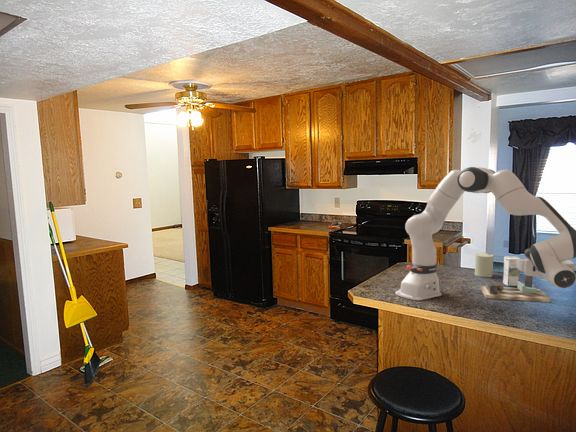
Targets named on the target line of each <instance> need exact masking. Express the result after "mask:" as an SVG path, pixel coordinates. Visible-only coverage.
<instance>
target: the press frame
mask: <svg viewBox="0 0 576 432" xmlns="http://www.w3.org/2000/svg"><path fill="white" fill-rule="evenodd" d="M480 291H481V292H482V294H483V295H484V297H485V298H486V299H494V300H509V301H510V300H512V301H529V302H541V303H542V302H543V303H551V298H550V297H549V296H548V295H547V294H546V293H545V292H544V291H543V290H542V289H538V288H537V293H524V292H521V291H520V290H519V288H518V287H504V285H502V283H496V282H495V281H494V280H493V279H485V285H481V286H480Z"/></svg>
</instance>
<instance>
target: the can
mask: <svg viewBox="0 0 576 432" xmlns="http://www.w3.org/2000/svg"><path fill="white" fill-rule="evenodd" d="M474 258H475V259H474V260H475V261H474V275H475V276H477V277H480V278H491V277H493V276H494V274H493V273H494V272H493V271H494V269H493V268H494V255H493V254H490V253H485V252H477V253H475V257H474Z"/></svg>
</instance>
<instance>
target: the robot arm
mask: <svg viewBox="0 0 576 432" xmlns="http://www.w3.org/2000/svg"><path fill="white" fill-rule="evenodd" d="M465 192H468V193H473V194H489V193H492V195H493V196H494V198H495V199H496V201H497V203H498V204H499V206H500V207H501V209H502V210H503V211H504V212H505V213H507V214H510V215H512V216H531V215H533V216H542V218H543V217H544V218H545V219H546V220H547V221H548V222H549V223H550V224H551V225H552V226H553V227H554V228H555V229H556V231H558V233H559V234H556V235H553V236H551V237H549V238H546V239H543V240H541V241H538V242H536V243H534V244H533V243H532V244H531V245H530V250H529V257H530V259H526V258H520V259H517V260H516V267H517V268H518V269H519V270H520V272H521V273H524V276H525V275H527V276H533V277H534V278H539V279H541V280H545V281H547V282H548V283H549V284H550V285H552V286H553V287H556V288H558V289H568V288H570V287H572V286H573V285H574V284H575V282H576V274H575V271H576V265H575V262H574V261H572V260H571V259H576V229H575V228H574V227H573V226H572V225H571V224H570V223H569V222H568V220H566V219H565V218H564V217H563V216H562V215H561V214H560V213H559V212H558V210H556V209H555V208H554V207H553V205H552V204H550V202H548V201H547V199H545V198H543V197H541V196H536V195H533V194H532V193H530V192H529V191H528V190H527V189H526V186H525V185H524V184H523V182H522V181H521V180H520V179H519V178H518V176H517V175H516V174H515V173H514V172H512V171H511V170H510V169H500V170H497V171H495V170H492V169H490V168H489V169H488V168H486V167H476V166H475V167H474V166H470V167H465V168H464V169H462V170H460V169H453V170H450V171H449V173H447V174H446V175H445V176H444V177H443V179H441V181H440V182H439V183H438V185H437V186H436V187H435V188H434V190H433V192H432V193H431V195H430V196H429V197H428V199H427V204H426V206H425V208H424V210H423V211H422V212H421V213H418V214H413V215H412V216H411V217H409V218H408V219H407V220H406V222H405V225H404V227H405V228H404V229H405V231H406V233H407V235H408V236H409V238H410V239H409V240H410V243H411V253H412V254H411V255H412V256H411V258H412V260H411V261H412V262H411V263H410V265H409V264H407V265H406V270H409V272H408V273H407V274H406V276H405V277H404V278H403V279H402V280H401V283H400V288H399V289H398V290H396V291H395V295H396V296H397V297H398V296H399V297H401V298H403V299H408V300H412V301H423V300H429V299H432V298H435V297H436V298H437V297H441V296H442V292H440V282H439V281H440V280H439V277H438V274H437V270H438V265H437V248H436V246H435V243H434V240H433V235H434V234H436V233H438V232H439V231H440V230H441V229H442V228H443V227H444V226H443V225H444V222H445V220H446V219H447V217H448V215H449V213H450V211H451V210H452V209H453V207H454V206H455V205H456V204H457V202H458V201H459V199H460V198H461V196H462V195H463V194H464V193H465Z"/></svg>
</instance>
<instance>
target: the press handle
mask: <svg viewBox="0 0 576 432" xmlns="http://www.w3.org/2000/svg"><path fill="white" fill-rule="evenodd" d="M529 250H530V248H526V249H525V250H524V256H525V259H530V257H529ZM533 279H534V278H533V276H527V275H525V274H524V283H523V282H521V281H520V280H519V281H518V285H517V286H516V288H519V290H520V291H521V292H524V293H537V289H538V288H537V287H536V286H535V285H533Z"/></svg>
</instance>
